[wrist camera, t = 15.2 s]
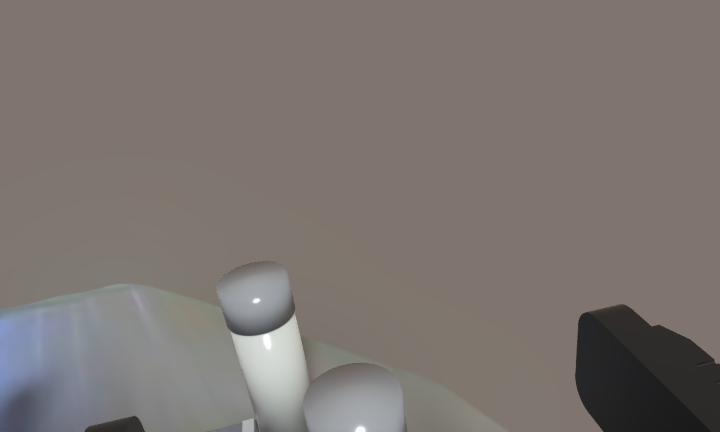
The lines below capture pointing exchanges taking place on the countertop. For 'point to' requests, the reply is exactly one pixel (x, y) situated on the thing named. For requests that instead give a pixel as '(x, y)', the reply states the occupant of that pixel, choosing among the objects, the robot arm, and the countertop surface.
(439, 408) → the countertop surface
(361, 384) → the fuse marked
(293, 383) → the fuse
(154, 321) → the countertop surface
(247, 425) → the fuse board
